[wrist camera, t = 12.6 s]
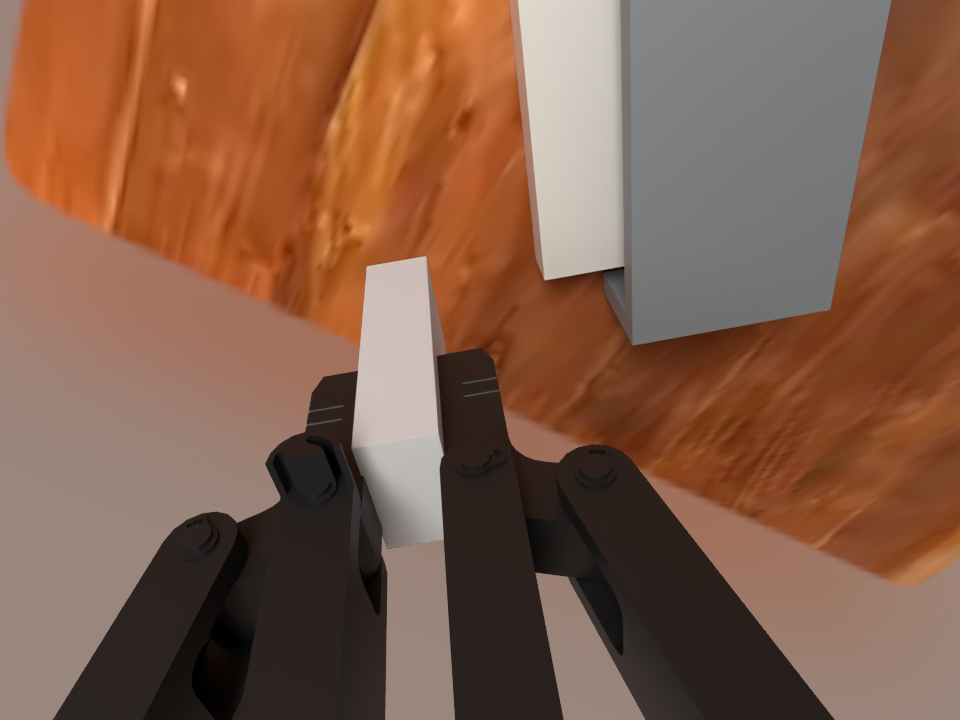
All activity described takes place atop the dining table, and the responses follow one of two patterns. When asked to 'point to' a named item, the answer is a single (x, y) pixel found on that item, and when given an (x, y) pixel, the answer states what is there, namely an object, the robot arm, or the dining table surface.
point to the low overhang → (738, 157)
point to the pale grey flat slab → (572, 131)
